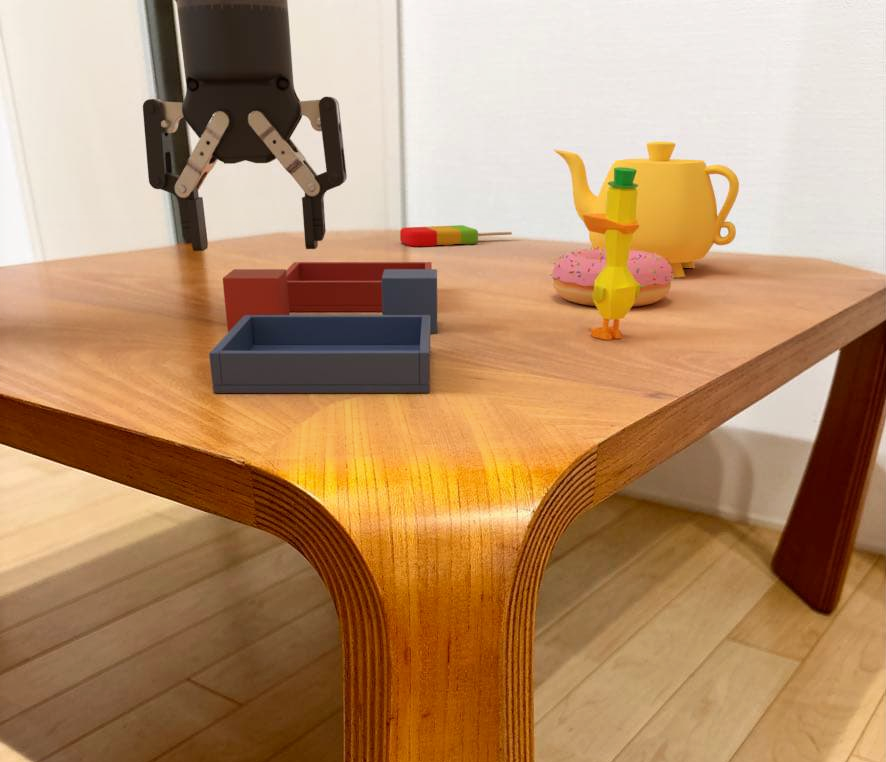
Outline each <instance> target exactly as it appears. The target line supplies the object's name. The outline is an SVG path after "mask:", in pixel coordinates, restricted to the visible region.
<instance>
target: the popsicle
mask: <svg viewBox="0 0 886 762" xmlns="http://www.w3.org/2000/svg"><path fill="white" fill-rule="evenodd" d="M507 235H508V236H509V235H513V232H512V231H493V232H492V231H491V232H479V231H478V230H477V229H476V228H473V227H469V226H466V225H463V224H461V225H460V224H459V225H435V226H410V227H409V226H408V227H402V228H401V229H400V231H399V236H400V237H399V239H400V242H401V243H402V244H404V245H406V246H408V247H413V246H414V247H413V248H415V247H416V248H417V247H418V248H420V247H419V246H422V247H436V246H435V245H444V246H452V245H451V244H465V245H476V244H478V243H479V237H487V236H488V237H489V236H507Z"/></svg>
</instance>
